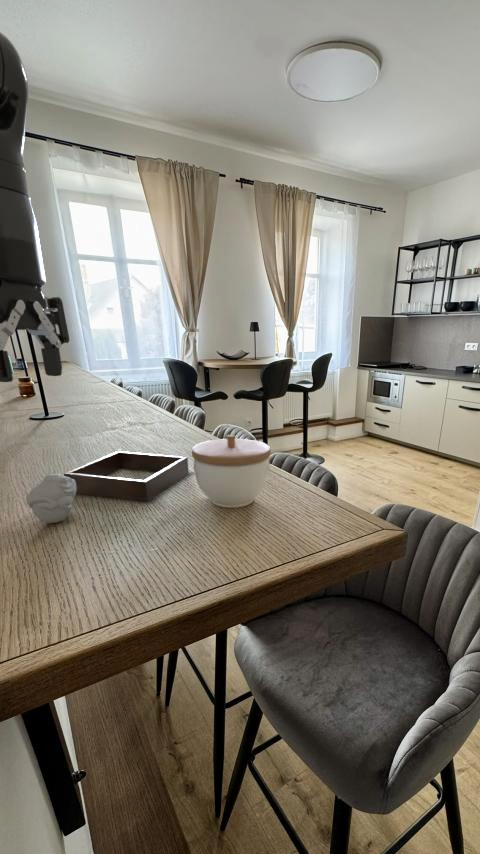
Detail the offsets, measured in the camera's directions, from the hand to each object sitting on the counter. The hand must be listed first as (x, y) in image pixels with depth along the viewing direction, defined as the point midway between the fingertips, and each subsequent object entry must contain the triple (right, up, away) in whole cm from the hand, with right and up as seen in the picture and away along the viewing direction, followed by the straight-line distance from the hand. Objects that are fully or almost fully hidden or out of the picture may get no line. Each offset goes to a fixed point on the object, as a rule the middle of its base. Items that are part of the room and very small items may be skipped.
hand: (30, 378), depth 56 cm
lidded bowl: (+26, -17, +14) cm, 34 cm away
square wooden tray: (+6, -13, +21) cm, 26 cm away
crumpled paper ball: (+1, -20, +5) cm, 20 cm away
